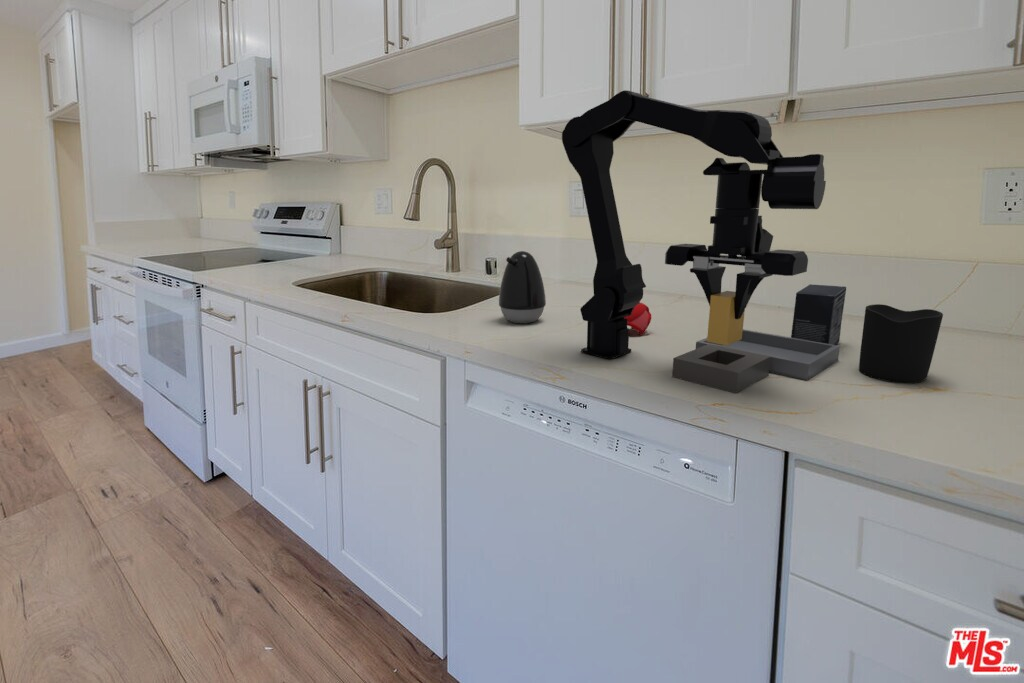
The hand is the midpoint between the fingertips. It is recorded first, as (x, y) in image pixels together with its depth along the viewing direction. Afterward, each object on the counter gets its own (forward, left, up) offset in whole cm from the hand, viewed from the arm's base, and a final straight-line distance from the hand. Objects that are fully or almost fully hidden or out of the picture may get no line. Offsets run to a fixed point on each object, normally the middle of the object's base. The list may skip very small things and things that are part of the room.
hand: (726, 317), depth 81 cm
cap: (-25, +13, -10) cm, 30 cm away
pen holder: (+18, +19, -10) cm, 28 cm away
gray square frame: (0, 0, -9) cm, 9 cm away
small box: (+4, +28, -10) cm, 30 cm away
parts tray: (+1, +14, -9) cm, 17 cm away
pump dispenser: (-48, +5, -10) cm, 49 cm away
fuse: (0, 0, -4) cm, 4 cm away
